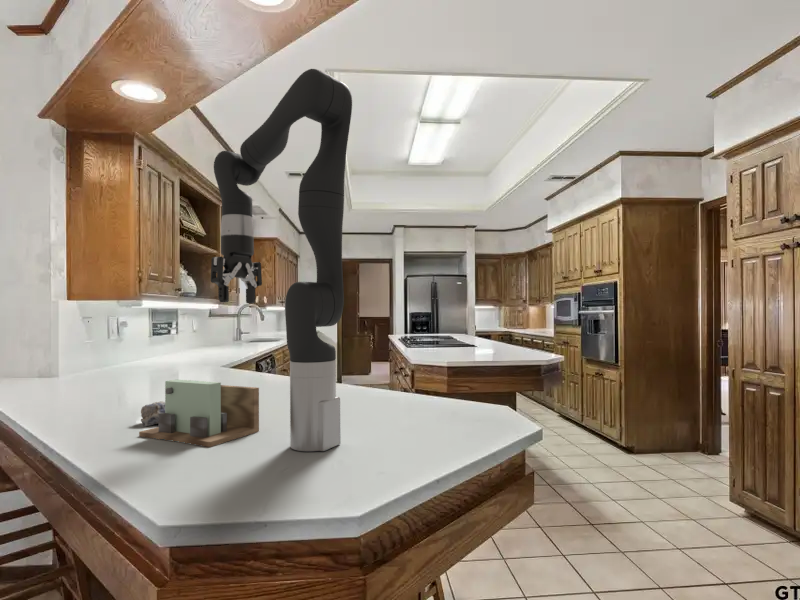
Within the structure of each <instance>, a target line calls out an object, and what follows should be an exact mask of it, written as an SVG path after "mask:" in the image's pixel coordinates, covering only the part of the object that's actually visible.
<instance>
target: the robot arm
mask: <svg viewBox="0 0 800 600" xmlns="http://www.w3.org/2000/svg"><path fill="white" fill-rule="evenodd" d="M352 110H353V96H352V92H351V90H350V88H349V86H348V85H347V84H346V83H344V82H342V81H341V80H339V79H337V78H335V77H334V76H331V75H330V74H328V73H325V72H324V71H322V70H320V69H317V68H310V69H307V70H304V72H302V73H301V74H300V75H299V76H298V77H297V78H296V80H295V81H294V82H293V83H292V84H291V85H290V87H289V88H288V90H287V91H286V92H285V94H284V95H283V96H282V98H281V99H280V101H279V102H278V103H277V105H276V106H275V108H273V111H272V113H270V115H269V116H268V117H267V119H266V120H265V121H264V122H263V123H262V124H261V126H259V127H258V128H257V129H256V130H255V131H254V132H252V133H251V135H249V136H248V137H247V138H246V139H245V140H244V141H243V142H242V144H241V145H240V149H239V151H240V154H239V153H236V152H233V151H230V150H222V151H220V152H218V153H217V154H216V156H215V158H214V161H213V173H214V176H215V181H216V184H217V187H218V191H219V194H220V199H221V221H220V254H221V255H222V256H213V257H211V260H210V261H211V262H210V263H211V265H210V266H211V267H210V282H211V283H212V284H215V285H217V287H218V288H217V289H218V290H217V291H218V296H217V297H218V300H219V303H229V301H230V298H229V297H230V293H229V292H230V290H229V289H230V287H229V284H230V282H231V281H232V280H233V279H234V278H237V279H240V280H241V282H243V283H244V285H245V287H246V288H245V303H246V304H255V302H256V288H258V287H260V286H262V285H263V279H262V277H263V275H262V274H263V273H262V263H261V262H260V261H256V262H253V261H252V257H253V256H254V254H255V252H254V251H255V247H254V245H255V243H254V235H255V234H254V229H255V227H254V222H253V198H252V196H251V195H250V194H248V193H247V192H245V191H243V190H241V188H239V186H238V185H241V186H247V187H248V186H252V185H255V184H256V183H257V182H258V181H259V179H260V177H261V175H262V174H263V172H264V171H265V169H266V167H267V165H269V164H270V163H272V161H274V160H275V159H276V158H277V157H279V156H280V155H281V154H282V153H283V152H284V150H285V149H286V147H287V144H288V142H289V141H288V140H289V135H290V134H289V133H290V128H291V127H292V125H293V124H294V123H297V122H298V121H299V120H300V119H303V118H305V117H306V118H307V119H310V120H311V121H314V122H317V123H320V125H321V126H320V127H321V136H320V143H319V149H318V152H317V154H316V156H315V157H314V159H313V160H312V162H311V164H310V165H309V166H308V168H307V170H306V171H305V173H304V174H303V176H302V179H301V181H300V184H299V186H298V187H299V189H298V207H297V209H298V211H297V215H298V220H299V223H300V226H301V229H302V231H303V233H304V235H305V238H306V240H307V241H308V243H309V245H310V248H311V250H312V252H313V255H314V259H315V265H316V281H295V282H294V283H293V284H291V285H290V287H289V288H288V290H287V292H286V296H285V302H284V303H285V304H284V314H285V315H284V316H285V318H284V319H285V329H286V332H285V333H286V345H287V349H288V353H289V415H290V416H289V428H290V433H289V434H290V435H289V438H290V443H289V445H290V448H291V449H292V450H294V451H298V452H326V451H327V450H330V449H331V448H335V447H337V446H339V445H340V444H342V443H341V442H342V441H341V439H342V437H341V435H342V434H341V398H340V397H339V396H337V378H336V377H337V374H336V373H337V372H336V371H337V369H336V368H337V364H336V362H337V360H336V359H337V351H336V348H335V346H334V345H332V344H330V343H327V342H325V341H324V340H322V339H321V338H320V337H319V335H318V332H317V331H318V330H317V328H321V327H322V328H323V327H324V328H325V327H333V326H335V325H336V324H338V323H339V321H340V319H341V318H342V315H343V312H344V306H345V305H344V304H345V302H344V300H345V296H344V295H345V292H344V276H343V275H344V274H343V273H344V271H343V224H344V223H343V221H344V210H345V206H344V205H345V175H346V159H347V150H348V149H347V148H348V141H349V135H350V134H349V133H350V127H351V119H352Z"/></svg>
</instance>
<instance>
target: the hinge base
mask: <svg viewBox="0 0 800 600" xmlns="http://www.w3.org/2000/svg"><path fill="white" fill-rule="evenodd" d="M258 432H260V387H256V386H253V387H251V386H241V385H226V384H221V433H218V434H215V435H212V436H207V418H204V417H196V416H193V417H190V433H184V432H176V431H175V414H169V413H159V423H158V426H157V427H154V428H149V429H145V430H141V431H138V437H141V438H142V437H143V438H147V439H154V438H156V439H155V440H160V439H165V440H164V441H167V440H173V441H172V442H174V441H179V442H178V443H180V442H185V443H184V444H187V443H191V444H190V445H194V444H196V445H195V446H200V445H202V447H207V448H212V447H215V446H218V445H221V444H224V443H228V442H229V441H233V440H237V439H240V438H243V437H246V436H249V435H252V434H256V433H258Z"/></svg>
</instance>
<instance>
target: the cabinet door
mask: <svg viewBox="0 0 800 600" xmlns="http://www.w3.org/2000/svg"><path fill="white" fill-rule="evenodd" d="M221 385H222V382H220V381H219V382H218V381H207V380H206V381H205V380H191V379H190V380H189V379H188V380H187V379H172V380H165V382H164V387H165V388H164V389H165V390H164V394H165V395H164V402H165V413H169V414H175V431H176V432H184V433H190V417H193V416H196V417H204V418H207V436H212V435H215V434H218V433H221Z"/></svg>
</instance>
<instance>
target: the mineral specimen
mask: <svg viewBox="0 0 800 600" xmlns="http://www.w3.org/2000/svg"><path fill="white" fill-rule="evenodd" d="M140 409H141V410H140V414H141V415H140V417H141V419H140V422H141V425H143V426H144V427H148V426H149V427H150V426H153V425H157V424H158V425H159V413H165V401H163V400H162V401H156V402H155V401H154V402H152V403H149V404H145V405H143V406H141V408H140Z"/></svg>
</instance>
